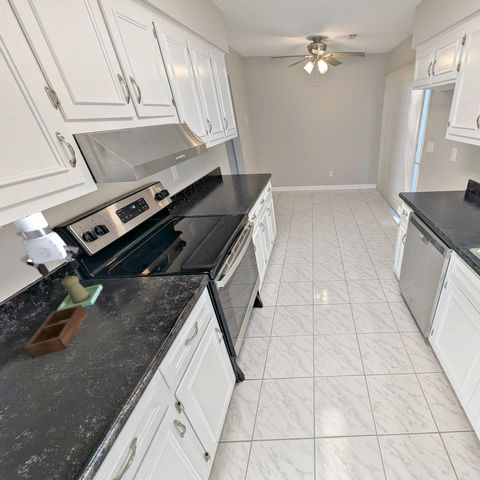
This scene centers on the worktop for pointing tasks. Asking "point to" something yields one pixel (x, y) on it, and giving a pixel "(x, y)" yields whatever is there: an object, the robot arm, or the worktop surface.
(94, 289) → the tray
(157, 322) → the worktop surface
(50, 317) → the caddy
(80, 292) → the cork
